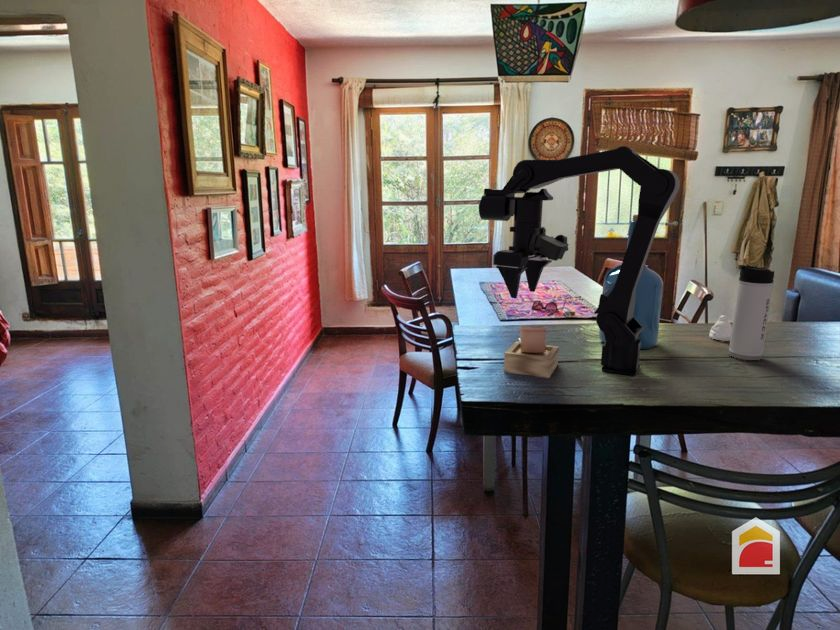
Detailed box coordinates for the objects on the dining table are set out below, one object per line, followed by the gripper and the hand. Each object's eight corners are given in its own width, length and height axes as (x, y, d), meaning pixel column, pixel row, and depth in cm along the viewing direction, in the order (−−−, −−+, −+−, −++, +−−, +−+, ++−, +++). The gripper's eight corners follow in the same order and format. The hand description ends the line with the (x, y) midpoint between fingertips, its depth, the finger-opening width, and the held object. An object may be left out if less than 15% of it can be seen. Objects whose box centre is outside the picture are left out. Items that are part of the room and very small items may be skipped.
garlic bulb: (709, 312, 132) (733, 313, 131) (706, 335, 134) (730, 337, 132) (715, 317, 127) (741, 318, 126) (712, 341, 128) (737, 343, 127)
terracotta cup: (552, 351, 108) (552, 326, 108) (535, 353, 105) (535, 327, 105) (530, 348, 112) (530, 325, 112) (514, 350, 109) (514, 326, 109)
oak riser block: (557, 366, 112) (558, 346, 111) (549, 379, 104) (550, 358, 103) (515, 360, 115) (516, 341, 114) (503, 373, 107) (504, 352, 106)
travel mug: (722, 351, 120) (734, 263, 116) (754, 353, 119) (768, 264, 114) (732, 360, 114) (745, 267, 110) (766, 362, 113) (781, 268, 108)
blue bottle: (630, 333, 135) (641, 213, 129) (670, 347, 123) (685, 215, 117) (585, 338, 131) (594, 214, 124) (623, 353, 119) (635, 216, 112)
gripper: (545, 226, 101) (540, 307, 104) (580, 221, 115) (574, 292, 119) (493, 223, 107) (490, 299, 111) (532, 219, 122) (528, 286, 125)
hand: (523, 294), depth 116 cm, fingers open, 9 cm apart
